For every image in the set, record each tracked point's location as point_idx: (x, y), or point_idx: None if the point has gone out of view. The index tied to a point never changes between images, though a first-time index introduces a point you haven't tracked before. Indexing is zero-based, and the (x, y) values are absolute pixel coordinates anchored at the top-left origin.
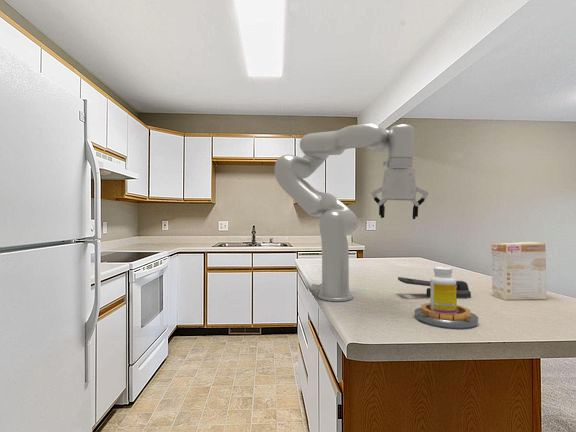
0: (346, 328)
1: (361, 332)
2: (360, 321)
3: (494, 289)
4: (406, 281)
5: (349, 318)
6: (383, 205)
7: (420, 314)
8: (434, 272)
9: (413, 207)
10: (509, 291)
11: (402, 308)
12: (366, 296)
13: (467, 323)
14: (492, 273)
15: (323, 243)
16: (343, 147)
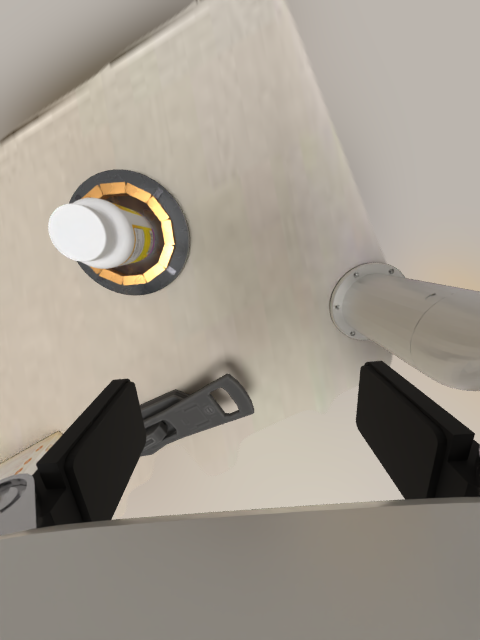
0: (296, 67)
1: (262, 53)
2: (280, 136)
3: None
4: (227, 376)
5: (306, 148)
6: (443, 487)
7: (171, 208)
8: (108, 225)
9: (71, 455)
10: (39, 448)
11: (221, 280)
12: (306, 341)
13: (78, 187)
14: None
15: None
16: None
